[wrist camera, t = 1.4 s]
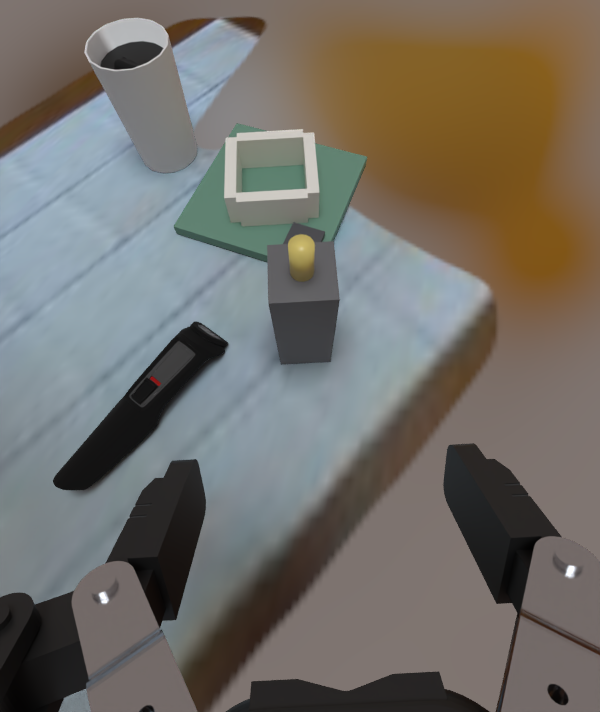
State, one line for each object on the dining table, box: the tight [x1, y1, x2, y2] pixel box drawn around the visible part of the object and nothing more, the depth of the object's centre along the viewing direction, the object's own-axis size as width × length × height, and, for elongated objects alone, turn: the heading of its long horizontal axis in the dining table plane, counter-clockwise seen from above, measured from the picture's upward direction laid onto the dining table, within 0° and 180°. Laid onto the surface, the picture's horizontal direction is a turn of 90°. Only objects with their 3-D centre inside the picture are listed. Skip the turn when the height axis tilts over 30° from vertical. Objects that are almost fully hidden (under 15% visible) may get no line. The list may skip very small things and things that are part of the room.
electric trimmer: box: [53, 322, 228, 490], centre depth 29 cm, size 4×15×3 cm, turn 142°
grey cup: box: [85, 18, 197, 173], centre depth 35 cm, size 7×7×10 cm
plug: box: [267, 234, 340, 364], centre depth 26 cm, size 4×4×12 cm
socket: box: [224, 129, 319, 226], centre depth 35 cm, size 8×8×3 cm
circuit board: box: [174, 123, 367, 262], centre depth 36 cm, size 14×14×2 cm
